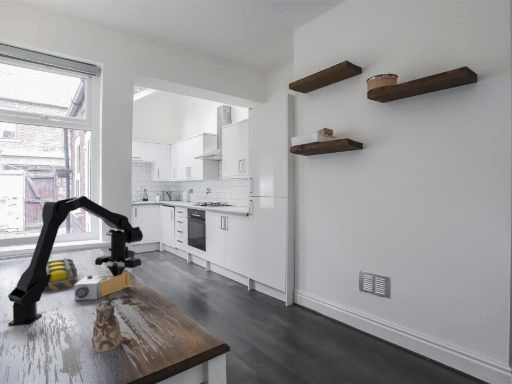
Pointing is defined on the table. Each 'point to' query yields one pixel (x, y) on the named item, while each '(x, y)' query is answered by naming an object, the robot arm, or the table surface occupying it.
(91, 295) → the block
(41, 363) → the table surface
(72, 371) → the table surface
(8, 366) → the table surface
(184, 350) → the table surface
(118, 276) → the side door
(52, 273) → the cage light
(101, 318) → the figurine
